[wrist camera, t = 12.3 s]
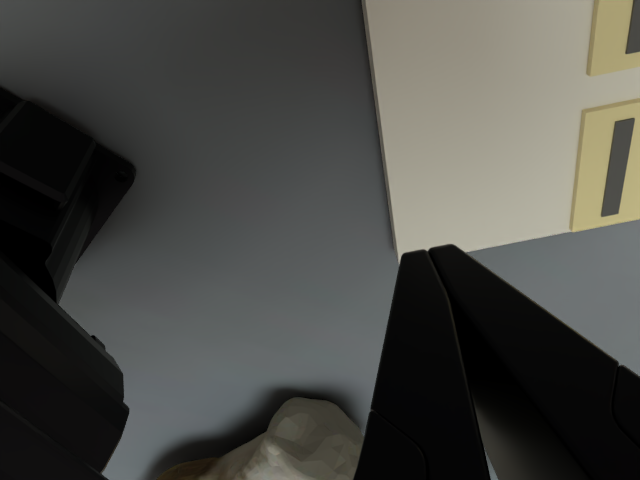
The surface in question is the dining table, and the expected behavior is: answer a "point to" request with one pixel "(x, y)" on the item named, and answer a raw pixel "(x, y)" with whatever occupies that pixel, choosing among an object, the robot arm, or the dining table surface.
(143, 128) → the dining table surface
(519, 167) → the label board
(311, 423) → the ceramic sculpture
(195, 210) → the dining table surface
